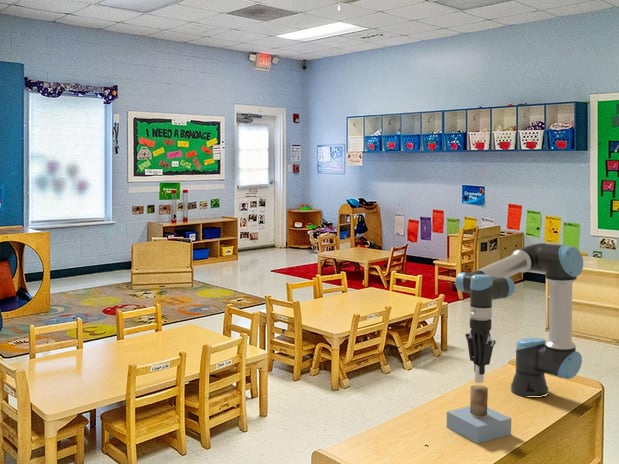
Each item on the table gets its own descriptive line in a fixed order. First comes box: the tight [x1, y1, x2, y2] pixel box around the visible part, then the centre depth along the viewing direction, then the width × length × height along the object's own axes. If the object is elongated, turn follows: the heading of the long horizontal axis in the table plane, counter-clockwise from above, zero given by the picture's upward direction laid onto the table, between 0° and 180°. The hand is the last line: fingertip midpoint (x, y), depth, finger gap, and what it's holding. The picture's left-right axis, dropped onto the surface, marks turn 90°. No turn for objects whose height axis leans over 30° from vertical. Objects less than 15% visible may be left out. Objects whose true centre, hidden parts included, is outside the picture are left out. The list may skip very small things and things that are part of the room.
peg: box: [469, 384, 489, 419], centre depth 224 cm, size 6×6×15 cm
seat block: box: [446, 405, 512, 445], centre depth 225 cm, size 16×16×6 cm
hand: (479, 382), depth 223 cm, fingers closed
